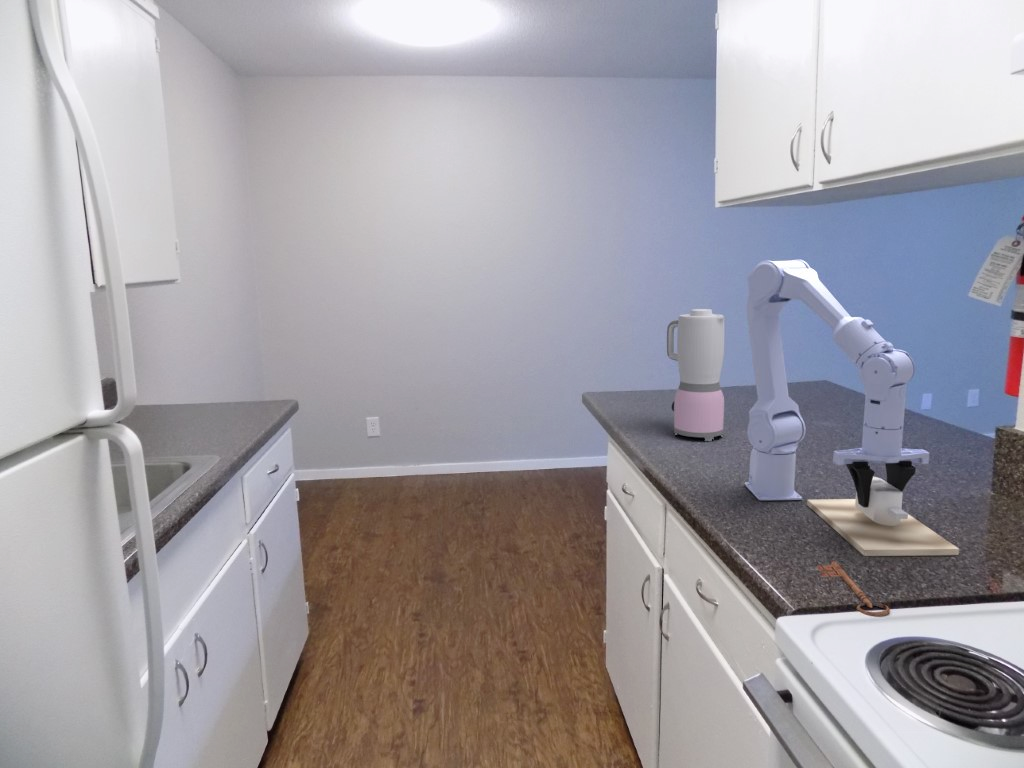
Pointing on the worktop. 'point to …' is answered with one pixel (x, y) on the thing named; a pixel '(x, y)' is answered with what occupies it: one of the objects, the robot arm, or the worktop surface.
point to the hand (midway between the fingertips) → (877, 505)
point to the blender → (698, 373)
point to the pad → (880, 531)
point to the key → (853, 588)
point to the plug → (883, 503)
